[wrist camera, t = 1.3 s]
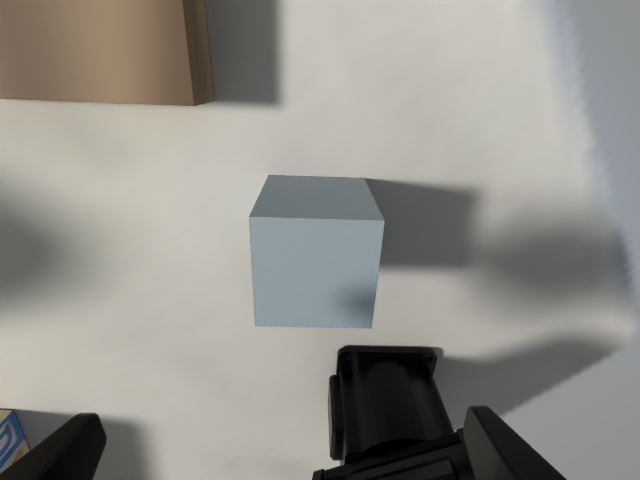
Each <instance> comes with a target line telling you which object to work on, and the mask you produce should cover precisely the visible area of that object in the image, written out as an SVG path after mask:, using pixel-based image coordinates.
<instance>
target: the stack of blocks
mask: <svg viewBox="0 0 640 480" xmlns="http://www.w3.org/2000/svg"><path fill="white" fill-rule="evenodd" d="M28 451H30V450H29V447H28V445H27V442H26V440H25V438H24V435H23V432H22V430H21V427H20V425H19V423H18V421H17V418H16V416H15V413H14V411H13V410H0V473H1V472H3V471H4V470H5V469H6V468H8V467H9V466H10V465H12V464H13V463H14V462H15V461H17V460H18V459H19V458H21V457H22V456H23V455H25V454H26V453H27V452H28Z"/></svg>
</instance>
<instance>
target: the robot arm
mask: <svg viewBox="0 0 640 480" xmlns="http://www.w3.org/2000/svg"><path fill="white" fill-rule="evenodd" d="M343 355H347V356H343ZM428 356H430V357H428ZM426 357H428V358H426ZM436 360H437V356H436V354H435V352H434V351H433V350H432V349H409V348H358V347H344V348H341V349H339V350H338V353H337V366H336V375H332V376H331V377H330V378H329V393H328V419H329V444H330V457H331V458H332V459H333V460H339V461H340V466H338V467H334V468H331V469H328V470H324V469H321V470H318V471H314V473H313V478H312V480H567V479H566V478H565V477H563V476H562V475H561V474H560V473H559V472H558V471H557V470H556V469H555V468H554V467H553V466H552V465H550V464H549V463H548V462H547V461H546V460H545V459H544V458H543V457H542V456H541V455H540V454H539V453H537V452H536V451H535V450H534V449H533V448H532V447H531V446H530V445H529V444H528V443H526V441H524V440H523V439H522V438H521V437H520V436H519V435H518V434H517V433H516V432H515V431H514V430H513V429H512V428H511V427H509V426H508V425H507V424H506V423H505V422H504V421H503V420H502V419H501V418H500V417H499V416H498V415H496V414H495V413H494V412H493V411H492V410H491V409H490V408H489V407H487V406H483V405H482V406H470V407H469V408H468V410H467V414H466V419H465V423H464V427H463V428H461V429H457V432H454V430H453V428H452V425H451V423H450V420H449V417H448V415H447V412H446V410H445V407H444V405H443V402H442V399H441V397H440V394H439V392H438V389H437V387H436V384H435V382H434V379H433V373H434V369H435V365H436ZM106 440H107V437H106V432H105V430H104V427H103V425H102V423H101V420H100V418H99V416H98V414H96V413H80V414H77V415H75V416H74V417H72V418H71V419H70V420H69V421H67V422H66V423H65V424H63V425H62V426H61V427H60V428H58V429H57V430H56V431H54V432H53V433H52V434H50V435H49V436H48V437H47V438H45V439H44V440H43V441H41V442H40V443H39V444H37V445H36V446H35V447H34V448H32V449H31V450H30V451H28V452H27V453H26V454H25V455H23V456H22V457H21V458H19V459H18V460H17V461H15V462H14V463H13V464H12V465H10V466H9V467H8V468H6V469H5V470H4V471H3V472H1V473H0V480H93V478H94V475H95V472H96V469H97V467H98V464H99V461H100V459H101V456H102V453H103V451H104V448H105V445H106Z"/></svg>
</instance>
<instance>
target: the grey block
mask: <svg viewBox="0 0 640 480" xmlns="http://www.w3.org/2000/svg"><path fill="white" fill-rule="evenodd" d="M384 223H385V220H384V218H383V216H382V214H381V212H380V210H379V208H378V206H377V203H376V201H375V199H374V197H373V195H372V193H371V191H370V189H369V187H368V185H367V183H366V181H365V178H345V177H314V176H284V175H268V178H267V180H266V182H265V184H264V186H263V188H262V190H261V192H260V195H259V197H258V199H257V201H256V203H255V205H254V207H253V209H252V212H251V214H250V216H249V226H250V244H251V263H252V281H253V300H254V319H255V326H280V327H327V328H372V320H373V312H374V304H375V296H376V288H377V279H378V271H379V263H380V255H381V247H382V239H383V231H384Z"/></svg>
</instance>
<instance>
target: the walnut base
mask: <svg viewBox="0 0 640 480" xmlns="http://www.w3.org/2000/svg"><path fill="white" fill-rule="evenodd" d="M0 99H20V100H46V101H73V102H100V103H126V104H153V105H180V106H196V105H200V104H204V103H208V102H212V101H214V98H213V86H212V75H211V63H210V52H209V40H208V29H207V17H206V5H205V0H0Z"/></svg>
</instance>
